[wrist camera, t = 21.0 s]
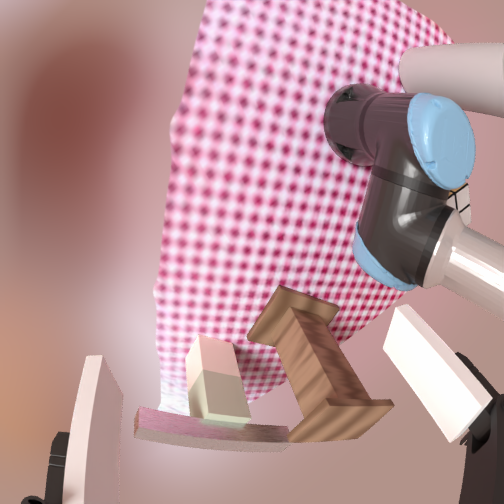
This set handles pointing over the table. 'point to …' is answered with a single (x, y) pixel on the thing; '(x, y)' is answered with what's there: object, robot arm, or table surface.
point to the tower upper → (218, 398)
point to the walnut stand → (316, 368)
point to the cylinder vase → (458, 74)
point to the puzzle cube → (461, 202)
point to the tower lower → (210, 358)
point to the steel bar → (208, 432)
